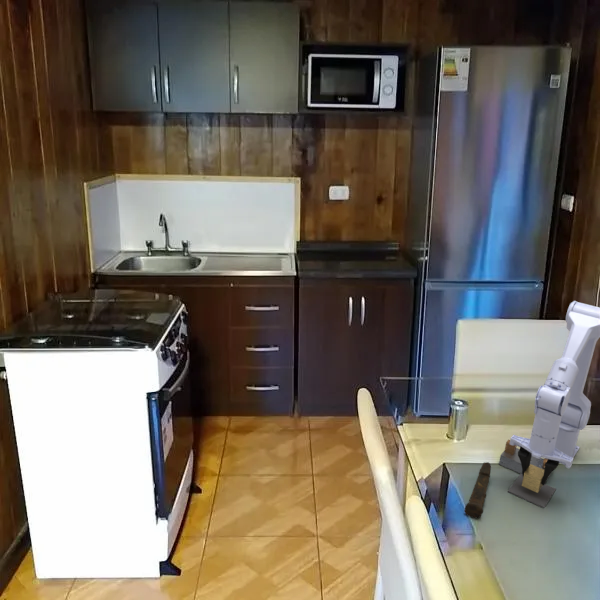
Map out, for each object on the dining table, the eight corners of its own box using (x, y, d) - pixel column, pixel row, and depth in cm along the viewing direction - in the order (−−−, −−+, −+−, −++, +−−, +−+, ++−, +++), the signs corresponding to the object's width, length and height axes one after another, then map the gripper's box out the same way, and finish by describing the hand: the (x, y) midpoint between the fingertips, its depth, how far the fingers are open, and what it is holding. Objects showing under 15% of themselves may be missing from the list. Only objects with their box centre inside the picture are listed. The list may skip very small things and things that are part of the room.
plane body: (507, 454, 165) (510, 435, 163) (551, 472, 158) (556, 453, 156) (498, 464, 160) (502, 445, 158) (544, 483, 154) (548, 464, 151)
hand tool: (480, 521, 140) (483, 505, 138) (463, 515, 142) (466, 499, 140) (496, 477, 156) (499, 462, 154) (481, 472, 158) (484, 457, 156)
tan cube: (521, 485, 149) (524, 472, 148) (527, 477, 152) (530, 464, 151) (537, 492, 147) (540, 479, 146) (543, 484, 150) (546, 470, 149)
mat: (520, 474, 157) (520, 473, 156) (555, 489, 152) (556, 488, 151) (507, 491, 150) (507, 490, 150) (544, 508, 145) (544, 507, 145)
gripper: (509, 427, 146) (499, 474, 151) (571, 451, 137) (559, 500, 142) (519, 416, 151) (510, 461, 156) (579, 438, 143) (568, 485, 147)
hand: (534, 478), depth 149 cm, fingers closed on tan cube, 4 cm apart
